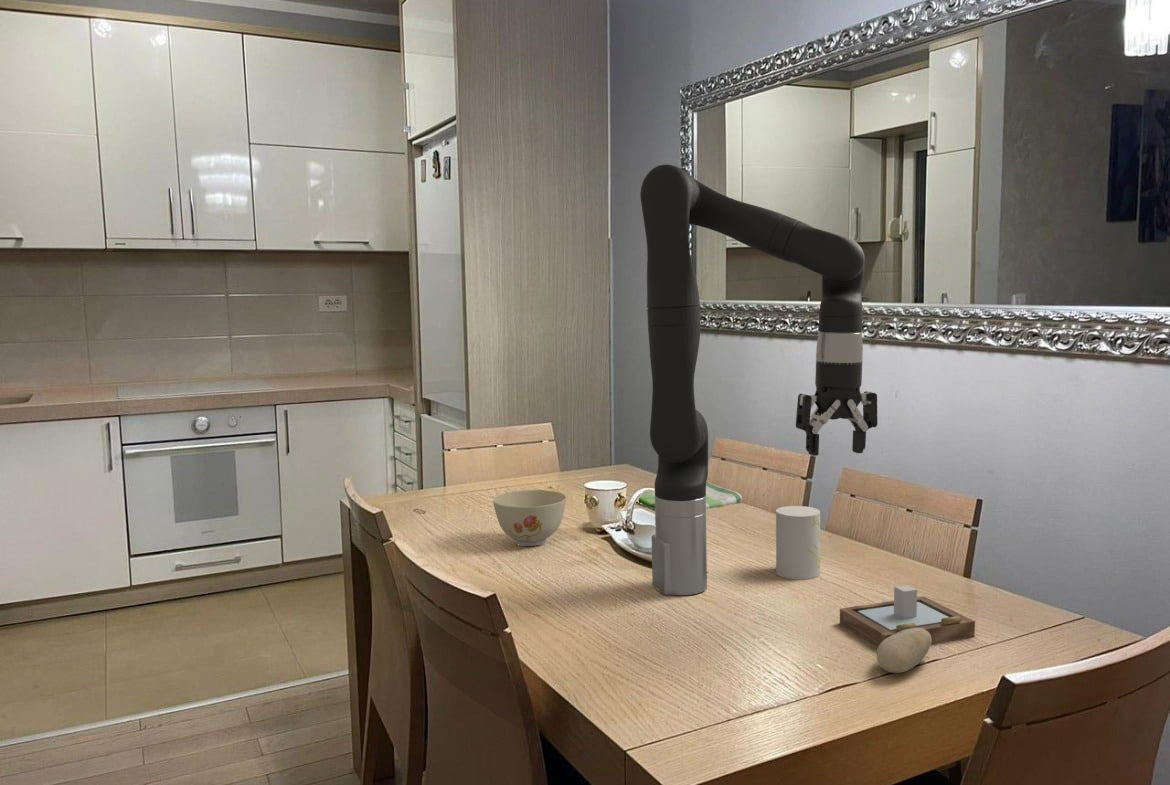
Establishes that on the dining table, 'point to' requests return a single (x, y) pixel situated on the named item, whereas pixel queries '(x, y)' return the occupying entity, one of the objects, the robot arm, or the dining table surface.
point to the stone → (903, 650)
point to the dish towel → (713, 497)
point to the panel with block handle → (903, 611)
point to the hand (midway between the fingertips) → (835, 453)
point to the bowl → (530, 514)
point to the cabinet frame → (948, 630)
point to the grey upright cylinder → (798, 542)
